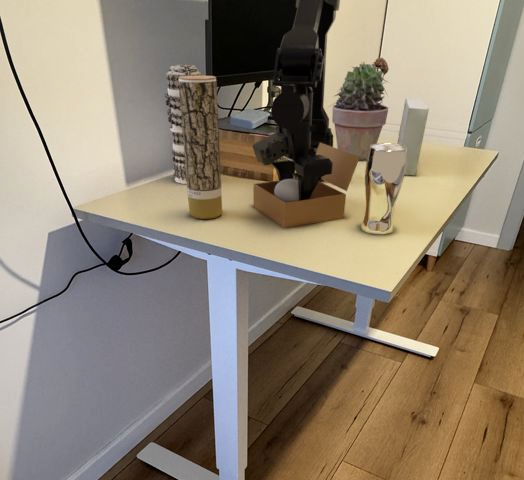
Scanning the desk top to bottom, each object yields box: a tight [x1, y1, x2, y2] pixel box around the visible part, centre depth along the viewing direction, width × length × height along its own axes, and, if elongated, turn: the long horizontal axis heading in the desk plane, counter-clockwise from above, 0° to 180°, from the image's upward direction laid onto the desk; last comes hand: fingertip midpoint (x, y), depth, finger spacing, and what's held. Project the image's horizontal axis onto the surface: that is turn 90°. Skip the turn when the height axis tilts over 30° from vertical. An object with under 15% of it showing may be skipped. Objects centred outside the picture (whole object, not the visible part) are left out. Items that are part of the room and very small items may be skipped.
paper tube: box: [178, 75, 223, 220], centre depth 95 cm, size 7×7×25 cm
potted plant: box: [326, 57, 392, 161], centre depth 138 cm, size 18×20×25 cm
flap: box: [316, 143, 360, 192], centre depth 102 cm, size 14×7×1 cm
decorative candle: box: [164, 64, 203, 185], centre depth 117 cm, size 9×9×25 cm
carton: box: [252, 177, 347, 229], centre depth 102 cm, size 15×14×5 cm
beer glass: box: [360, 142, 407, 235], centre depth 91 cm, size 7×7×15 cm
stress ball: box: [274, 178, 299, 203], centre depth 102 cm, size 8×8×7 cm
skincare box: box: [396, 97, 430, 176], centre depth 132 cm, size 21×5×16 cm, turn 168°
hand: (293, 201), depth 102 cm, fingers closed on stress ball, 7 cm apart
